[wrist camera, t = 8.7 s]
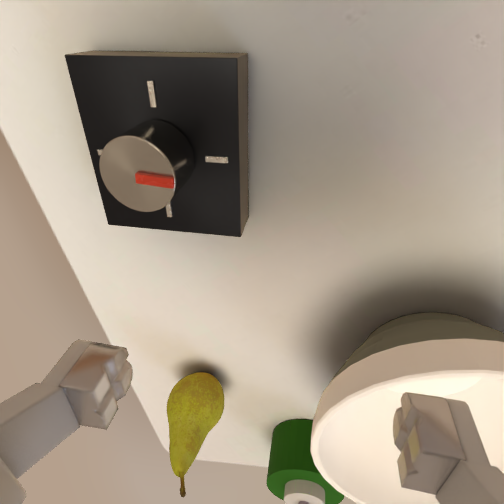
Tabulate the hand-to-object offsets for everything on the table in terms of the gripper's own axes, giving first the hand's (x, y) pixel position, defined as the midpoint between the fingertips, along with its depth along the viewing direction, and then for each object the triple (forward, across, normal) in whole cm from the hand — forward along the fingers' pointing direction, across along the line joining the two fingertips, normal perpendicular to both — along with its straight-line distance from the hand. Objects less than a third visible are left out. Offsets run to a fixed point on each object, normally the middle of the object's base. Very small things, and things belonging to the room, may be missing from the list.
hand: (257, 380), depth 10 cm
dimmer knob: (+14, +9, -1) cm, 16 cm away
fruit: (+17, +8, +24) cm, 31 cm away
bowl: (+17, -13, +16) cm, 27 cm away
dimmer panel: (+17, +8, -2) cm, 19 cm away
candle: (+17, -4, +33) cm, 38 cm away
